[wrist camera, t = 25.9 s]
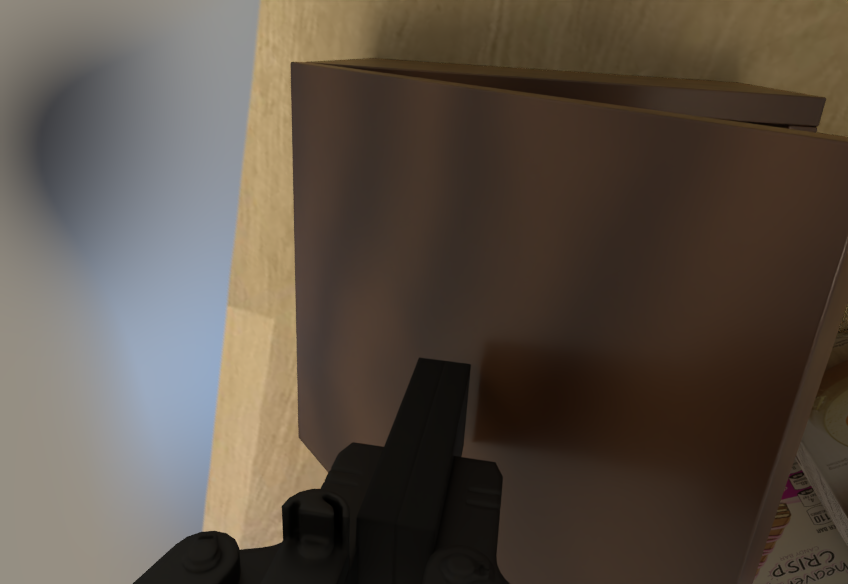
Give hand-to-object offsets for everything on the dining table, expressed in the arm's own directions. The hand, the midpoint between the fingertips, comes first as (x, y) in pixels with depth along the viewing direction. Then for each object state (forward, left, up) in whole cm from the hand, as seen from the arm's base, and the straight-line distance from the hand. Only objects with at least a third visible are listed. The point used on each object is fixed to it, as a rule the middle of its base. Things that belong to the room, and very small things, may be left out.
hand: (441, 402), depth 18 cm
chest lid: (0, 0, -2) cm, 2 cm away
